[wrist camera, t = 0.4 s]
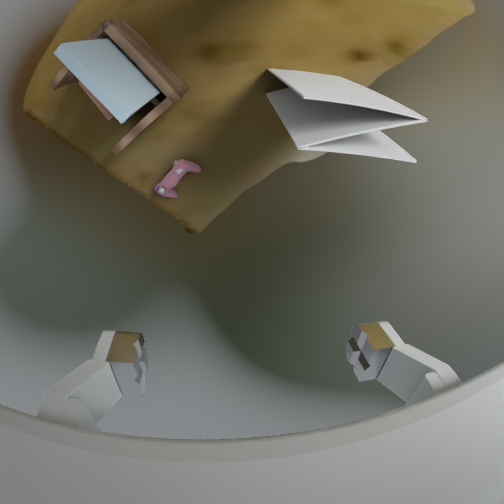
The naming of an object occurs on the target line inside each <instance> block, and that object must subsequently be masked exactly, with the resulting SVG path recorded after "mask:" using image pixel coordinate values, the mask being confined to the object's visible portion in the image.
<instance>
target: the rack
mask: <svg viewBox="0 0 504 504" xmlns="http://www.w3.org/2000/svg"><path fill="white" fill-rule="evenodd" d="M96 39H112V40H113V41H114V42H115V43H116V44H117V45H118V46H119V47H120V48H121V49H122V50H123V51H124V52H125V53H126V54H127V55H128V56H129V57H130V58H131V59H132V60H133V61H134V62H135V63H136V65H137V66H138V67H139V68H140V69H141V70H142V71H143V72H144V73H145V74H146V75H147V76H148V77H149V78H150V79H151V80H152V82H153V83H154V84H155V85H156V86H157V87H158V88H159V89H160V90H161V91H162V92H161V93H160V94H158V95H157V96H156V97H154V98H153V99H152V100H150V101H151V102H152V103H153V104H154V105H155V106H156V107H155V108H154V109H153V110H152V111H150V112H149V113H148V114H147V115H146V116H145V117H144V118H143V119H142V120H141V121H139V122H138V123H137V124H136V125H135V126H134V127H133V128H132V129H131V130H130V131H129V132H128V133H127V134H126V135H125V136H124V137H123V138H122V139H121V140H120V141H119V142H118V143H117V144H116V145H115V146H114V147H113V149H112V151H113V152H114V153H115V154H116V155H118V154H119V153H120V152H121V151H122V150H123V149H124V148H125V147H126V146H127V145H128V144H129V143H130V142H131V141H132V140H133V139H134V138H135V137H136V136H137V135H138V134H139V133H140V132H141V131H142V130H143V129H145V128H146V127H147V126H148V125H149V124H150V123H151V122H152V121H153V120H155V119H156V118H157V117H158V116H159V115H160V114H162V113H163V112H164V111H165V110H166V109H167V108H169V107H170V106H171V105H172V104H173V103H175V102H176V101H177V100H178V99H180V98H181V97H182V96H183V94H184V93H185V92H186V91H187V90H188V89H189V88H188V87H187V86H186V85H185V84H184V82H183V81H182V80H181V79H180V78H179V77H178V76H177V75H176V74H175V72H174V71H173V70H172V69H171V68H170V67H169V66H168V65H167V64H166V63H165V61H164V60H163V59H162V58H161V57H160V56H159V55H158V54H157V53H156V52H155V51H154V50H153V49H152V48H151V47H150V45H149V44H148V43H147V42H146V41H145V40H144V39H143V38H142V37H141V36H140V35H139V34H138V33H137V32H136V31H135V30H134V29H133V28H132V27H131V26H130V25H129V24H128V23H127V22H125V21H117V20H107V19H105V20H104V21H103V22H102V23H101V24H100V25H99V26H98V27H97V28H96V29H95V30H94V31H93V32H92V34H91V35H90V36H89V37H88V38H87V39H86V40H96ZM78 80H79V79H78V78H77V77H76V76H75V75H74V74H73V73H72V72H71V71H70V70H69V69H68V68H67V67H66V66H65V65H64V66H63V67H62V69H61V70H60V71H59V72H58V74H57V75H56V76H55V78H54V79H53V81H52V82H51V83H50V85H49V86H50V87H51V88H52V89H53V90H55V89H58V88H60V87H63V86H65V85H67V84H70V83H73V82H75V81H78Z"/></svg>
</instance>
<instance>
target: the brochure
mask: <svg viewBox="0 0 504 504" xmlns="http://www.w3.org/2000/svg"><path fill="white" fill-rule="evenodd" d="M268 71H270V72H271V73H272V74H274V75H275V76H276V77H277V78H279V79H280V80H281V81H283V82H284V83H285V84H286V85H288V86H289V87H288V88H285V89H281V90H277V91H273V92H270V93H266V96H267V97H268V99H269V101H270V102H271V104H272V106H273V107H274V109H275V111H276V112H277V114H278V116H279V117H280V119H281V121H282V122H283V124H284V126H285V127H286V129H287V131H288V133H289V134H290V136H291V138H292V140H293V142H294V143H295V145H296V147H297V149H298V150H314V151H327V152H338V153H348V154H358V155H367V156H374V157H381V158H389V159H395V160H401V161H408V162H414V163H416V160H415V159H414V158H413V157H412V156H411V155H409V154H408V153H407V152H406V151H405V150H403V149H402V148H401V147H400V146H399V145H397V144H396V143H395V142H394V141H392V140H391V139H390V138H389V137H387V136H386V135H385V134H383V133H382V132H381V131H380V130H382V129H387V128H392V127H398V126H403V125H409V124H415V123H420V122H427V119H426V118H425V117H423V116H421V115H420V114H418V113H416V112H414V111H412V110H411V109H408V108H407V107H405V106H403V105H401V104H399V103H397V102H395V101H393V100H392V99H389V98H387V97H385V96H383V95H381V94H379V93H377V92H375V91H373V90H370V89H368V88H366V87H364V86H361V85H359V84H357V83H354V82H352V81H349V80H347V79H345V78H342V77H339V76H333V75H327V74H320V73H312V72H304V71H294V70H282V69H268Z"/></svg>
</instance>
